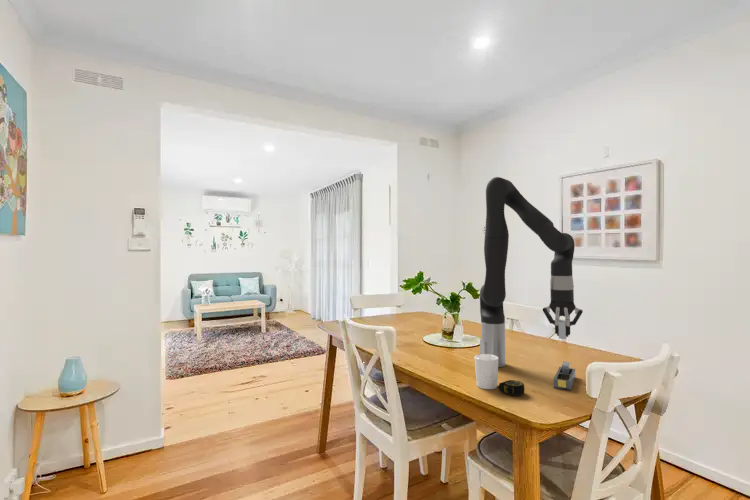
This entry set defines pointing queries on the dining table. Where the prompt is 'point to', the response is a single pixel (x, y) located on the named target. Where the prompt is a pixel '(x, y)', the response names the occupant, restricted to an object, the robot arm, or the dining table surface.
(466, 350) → the dining table surface
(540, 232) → the robot arm
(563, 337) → the panel
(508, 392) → the tape measure
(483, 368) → the white cup
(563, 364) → the box
